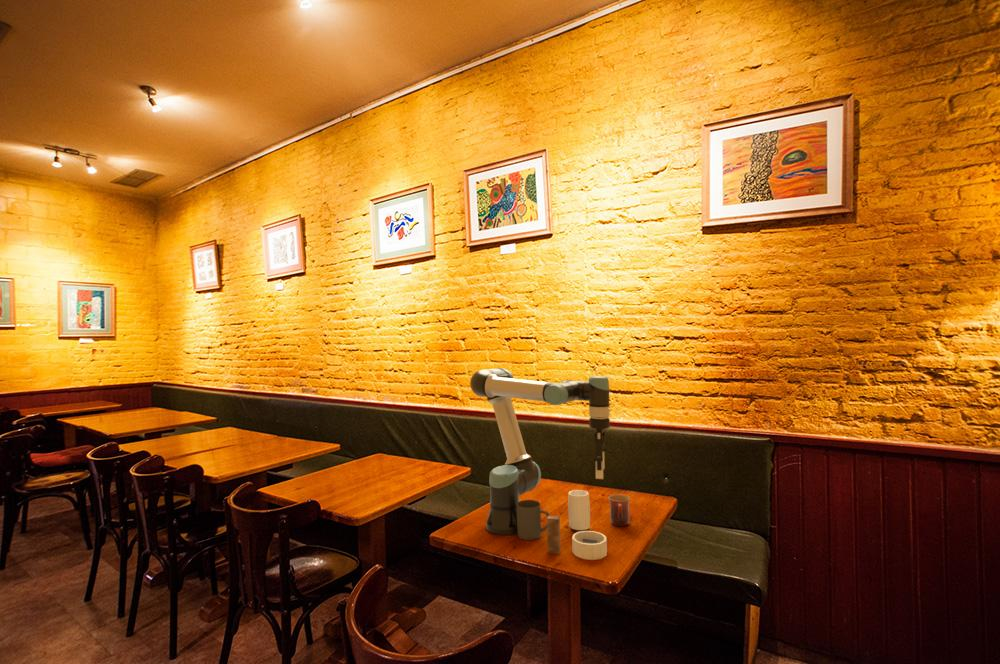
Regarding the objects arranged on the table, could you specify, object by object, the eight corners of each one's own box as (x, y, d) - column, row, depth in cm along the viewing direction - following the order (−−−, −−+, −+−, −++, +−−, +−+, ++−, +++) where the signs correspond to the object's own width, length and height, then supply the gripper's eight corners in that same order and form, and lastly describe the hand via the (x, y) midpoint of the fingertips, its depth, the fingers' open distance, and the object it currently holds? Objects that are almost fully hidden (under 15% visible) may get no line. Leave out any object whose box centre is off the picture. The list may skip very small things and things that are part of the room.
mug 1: (513, 537, 176) (512, 505, 177) (524, 528, 184) (523, 498, 185) (545, 544, 169) (544, 511, 170) (556, 535, 177) (555, 503, 178)
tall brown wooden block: (547, 553, 163) (546, 518, 163) (549, 550, 165) (548, 515, 165) (559, 554, 161) (558, 519, 162) (560, 551, 164) (559, 516, 164)
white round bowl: (570, 557, 159) (570, 542, 159) (575, 543, 170) (575, 529, 170) (605, 561, 155) (604, 546, 155) (607, 546, 166) (607, 532, 166)
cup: (591, 526, 185) (590, 490, 186) (589, 534, 177) (588, 497, 178) (570, 524, 188) (569, 488, 188) (567, 532, 179) (566, 495, 180)
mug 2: (608, 518, 192) (607, 493, 193) (630, 519, 191) (629, 494, 191) (609, 530, 181) (608, 503, 181) (632, 531, 179) (631, 504, 179)
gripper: (608, 423, 164) (609, 483, 164) (610, 412, 188) (611, 465, 188) (587, 422, 166) (588, 482, 165) (591, 411, 190) (592, 464, 190)
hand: (600, 473), depth 177 cm, fingers open, 13 cm apart
